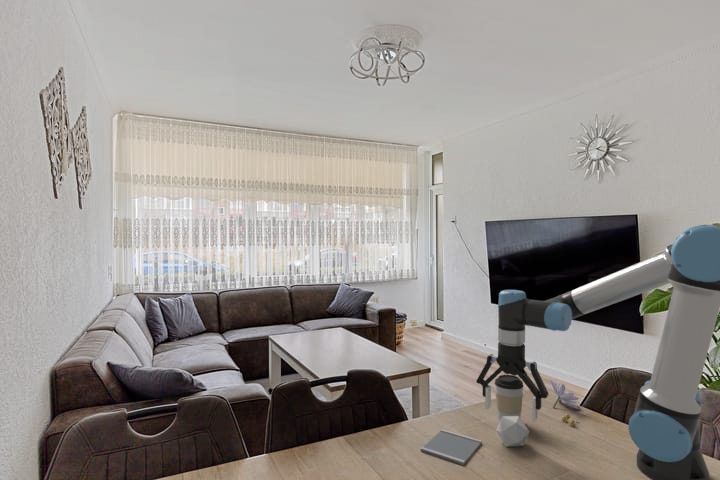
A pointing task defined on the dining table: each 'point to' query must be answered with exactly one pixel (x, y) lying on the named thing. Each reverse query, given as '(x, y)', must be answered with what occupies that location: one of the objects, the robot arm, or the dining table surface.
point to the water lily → (560, 394)
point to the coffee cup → (508, 396)
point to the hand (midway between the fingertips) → (510, 413)
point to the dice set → (571, 421)
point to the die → (512, 431)
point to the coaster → (452, 446)
